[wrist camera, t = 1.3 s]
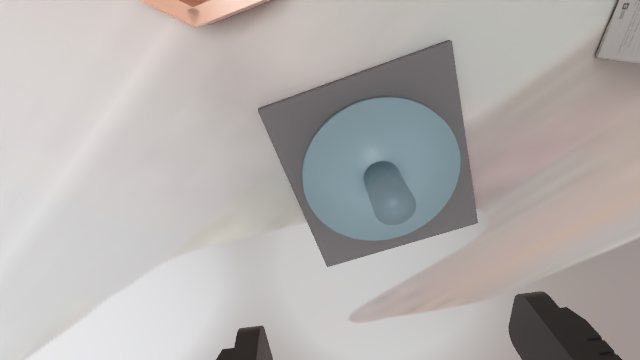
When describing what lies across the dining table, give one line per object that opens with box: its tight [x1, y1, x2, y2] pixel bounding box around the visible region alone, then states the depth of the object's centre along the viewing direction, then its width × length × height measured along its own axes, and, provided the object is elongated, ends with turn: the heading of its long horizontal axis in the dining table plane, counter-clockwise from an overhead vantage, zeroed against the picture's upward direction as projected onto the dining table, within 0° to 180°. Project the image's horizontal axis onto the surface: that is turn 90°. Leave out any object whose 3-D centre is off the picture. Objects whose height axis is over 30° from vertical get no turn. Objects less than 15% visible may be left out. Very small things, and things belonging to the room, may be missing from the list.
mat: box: [258, 40, 478, 267], centre depth 31 cm, size 16×18×1 cm
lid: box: [302, 96, 461, 241], centre depth 28 cm, size 14×14×6 cm
